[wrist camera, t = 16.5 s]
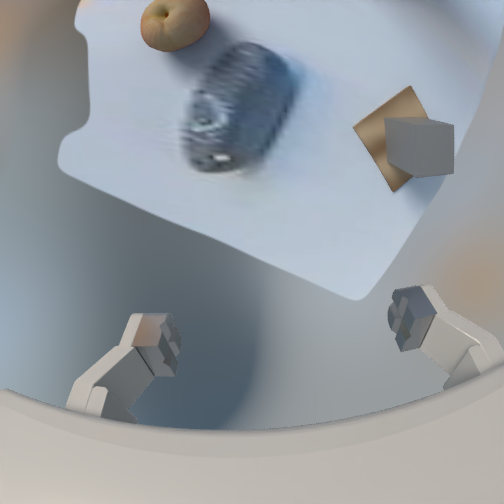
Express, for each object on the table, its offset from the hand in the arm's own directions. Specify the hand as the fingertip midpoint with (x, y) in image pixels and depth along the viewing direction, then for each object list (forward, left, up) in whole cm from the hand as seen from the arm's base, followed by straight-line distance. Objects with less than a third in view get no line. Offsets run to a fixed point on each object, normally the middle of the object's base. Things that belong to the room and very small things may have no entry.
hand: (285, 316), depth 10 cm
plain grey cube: (+12, +20, -29) cm, 37 cm away
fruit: (-19, +5, -30) cm, 36 cm away
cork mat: (+12, +19, -29) cm, 37 cm away
